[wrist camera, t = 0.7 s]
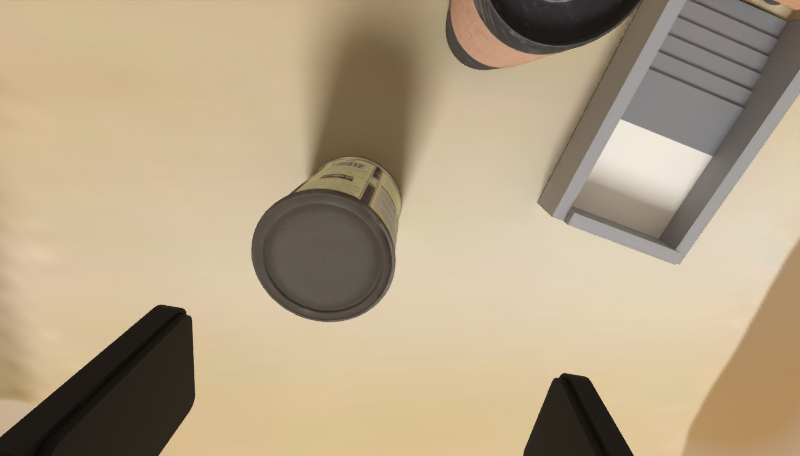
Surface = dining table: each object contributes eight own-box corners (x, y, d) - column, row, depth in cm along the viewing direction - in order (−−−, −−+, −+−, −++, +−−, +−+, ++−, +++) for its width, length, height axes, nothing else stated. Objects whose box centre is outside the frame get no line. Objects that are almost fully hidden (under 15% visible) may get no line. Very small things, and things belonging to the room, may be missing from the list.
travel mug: (484, 91, 35) (560, 91, 17) (424, 31, 34) (434, -43, 15) (546, 22, 33) (717, -68, 14) (486, -45, 32) (587, -244, 13)
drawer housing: (659, -33, 31) (707, -58, 26) (795, 27, 32) (867, 15, 27) (537, 202, 39) (555, 220, 34) (651, 246, 40) (686, 268, 35)
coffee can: (331, 261, 42) (292, 339, 29) (289, 177, 39) (223, 222, 26) (417, 230, 40) (417, 298, 27) (379, 140, 37) (358, 167, 24)
